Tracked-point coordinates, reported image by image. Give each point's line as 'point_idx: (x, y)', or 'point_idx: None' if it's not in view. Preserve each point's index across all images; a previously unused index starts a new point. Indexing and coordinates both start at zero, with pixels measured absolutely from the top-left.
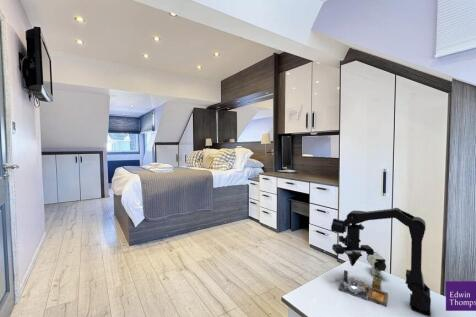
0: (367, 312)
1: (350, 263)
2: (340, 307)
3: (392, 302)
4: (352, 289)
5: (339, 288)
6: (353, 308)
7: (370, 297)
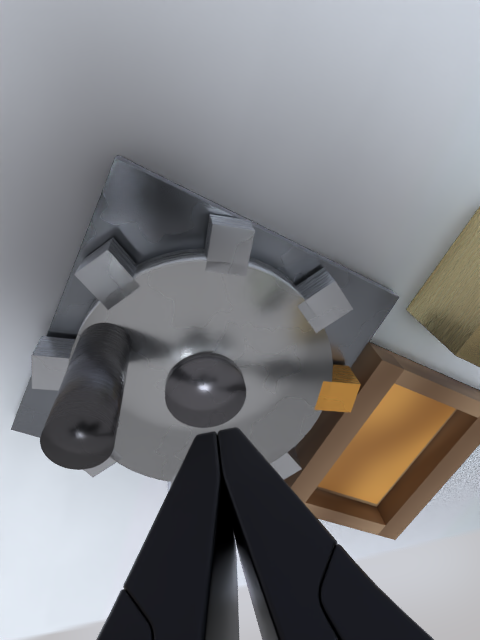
0: None
1: (185, 469)
2: (23, 604)
3: (466, 459)
4: (157, 475)
5: (25, 428)
6: (123, 588)
7: None
